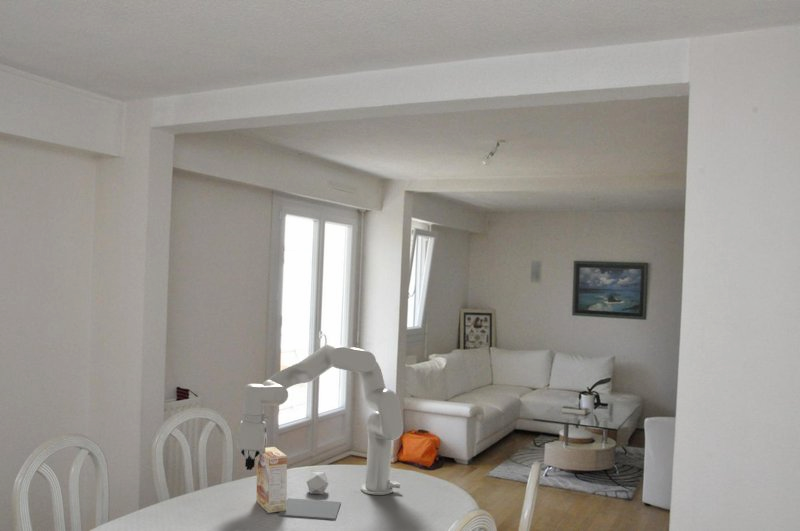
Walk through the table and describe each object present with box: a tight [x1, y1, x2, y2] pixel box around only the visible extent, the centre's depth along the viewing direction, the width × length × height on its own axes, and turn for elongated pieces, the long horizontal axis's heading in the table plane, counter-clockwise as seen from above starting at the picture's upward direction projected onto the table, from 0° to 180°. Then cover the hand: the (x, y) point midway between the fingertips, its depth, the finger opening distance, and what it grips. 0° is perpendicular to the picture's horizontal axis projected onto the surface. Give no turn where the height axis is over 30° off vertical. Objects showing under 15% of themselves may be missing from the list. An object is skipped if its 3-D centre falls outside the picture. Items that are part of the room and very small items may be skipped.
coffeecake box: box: [256, 446, 288, 514], centre depth 256 cm, size 15×7×20 cm, turn 27°
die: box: [306, 471, 329, 495], centre depth 275 cm, size 8×9×10 cm
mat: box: [278, 497, 342, 521], centre depth 255 cm, size 20×18×1 cm
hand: (249, 468), depth 256 cm, fingers closed
